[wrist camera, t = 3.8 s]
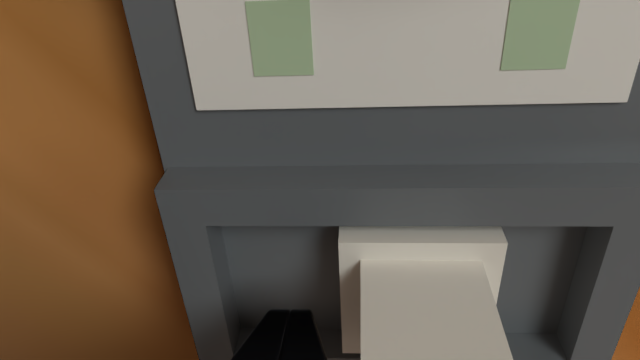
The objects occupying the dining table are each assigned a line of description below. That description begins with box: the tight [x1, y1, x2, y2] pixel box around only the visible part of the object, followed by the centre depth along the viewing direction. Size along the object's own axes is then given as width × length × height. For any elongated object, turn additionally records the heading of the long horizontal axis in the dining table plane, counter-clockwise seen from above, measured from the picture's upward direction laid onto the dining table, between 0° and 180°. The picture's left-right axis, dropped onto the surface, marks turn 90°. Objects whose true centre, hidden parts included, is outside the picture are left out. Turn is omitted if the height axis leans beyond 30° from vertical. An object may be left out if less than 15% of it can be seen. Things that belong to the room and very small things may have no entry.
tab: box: [338, 226, 513, 360], centre depth 9 cm, size 3×3×3 cm
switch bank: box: [122, 0, 640, 360], centre depth 8 cm, size 18×9×2 cm, turn 3°
